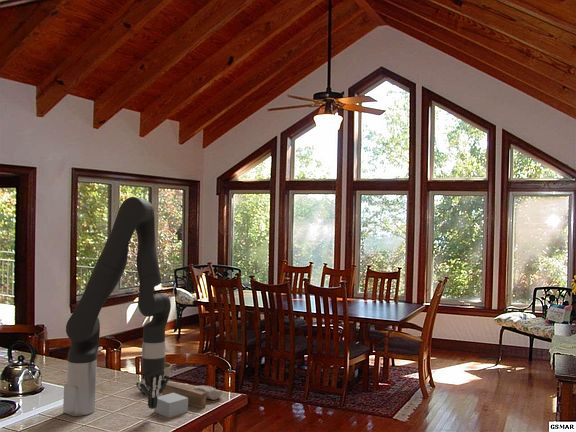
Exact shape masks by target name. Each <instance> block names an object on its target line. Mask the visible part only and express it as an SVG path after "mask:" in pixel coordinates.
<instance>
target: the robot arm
mask: <svg viewBox="0 0 576 432" xmlns="http://www.w3.org/2000/svg"><path fill="white" fill-rule="evenodd" d="M155 226H156V225H155V209H154V206H153V205H152V203H151V202H150V201H148V200H146V199H143V198H140V197H137V196H130V197H127V198H125V200H124V201H123V202H122V203H121V205H120V206H119V208H118V212H117V214H116V216H115V219H114V222H113V226H112V229H111V230H110V234H108V235H109V236H108V238H107V240H106V241H105V244H104V247H103V248H102V251H101V253H100V255H99V257H98V259H97V260H96V263H95V265H94V267H93V269H92V271H91V274H90V276H89V278H88V281H87V283H86V286H85V289H84V291H83V294H82V296H81V298H80V300H79V302H78V303H77V305H76V307H75V309H74V310H73V312H72V313H71V316H70V317H69V318H68V320H67V321H66V324H65V332H66V335H67V337H68V339H69V340H70V341H71V343H70V346H69V350H68V353H67V367H66V369H67V370H66V371H67V372H66V383H64V384H63V403H62V405H63V407H62V413H63V414H66V415H69V416H72V417H80V416H88V415H91V414H94V412H95V410H96V393H97V392H96V391H97V390H96V389H97V363H98V361H97V359H98V357H97V356H98V352H99V349H100V348H99V347H100V336H101V333H100V332H101V331H100V330H101V323H100V319H99V315H100V313H101V310H102V309H103V306H104V305H105V303H106V302H107V300H108V299H109V298H110V296H111V294H112V293H113V292H114V291H115V289H116V287H117V286H118V285H119V282H120V280H121V278H122V276H123V274H124V272H125V270H126V267H127V263H128V259H129V258H128V257H129V246H130V242H131V239H132V237H133V235H134V233H135V232H136V236H137V253H136V262H135V263H136V270H137V275H138V276H137V277H138V281H139V287H138V296H137V297H138V298H137V306H138V307H137V308H138V310H139V312H140V313H141V314H142V316H144V317H148V318H149V317H152V318H151V320H150V321H149V322H147V323H146V324H144V326H143V330H142V332H143V334H142V346H141V370H142V376H141V379H140V381H139V382H136V384H135V385H136V387H137V388H138V390H139V391H140V393H141V394H142V396H144V397H147V407H148V408H149V409H151V410H154V408H156V407H157V397H159V396H160V394H162V392H163V390H164V388H165V386H166V384H167V382H169V380H170V375H169V376H166V375H165V374H164V369H165V363H166V326H167V324H168V320H169V317H170V312H171V308H172V307H171V306H172V303H171V299H170V297H169V295H167V294H166V293H164V292H160V293H154V290H155V287H157V286H160V285H161V284H162V276H161V271H160V265H159V260H158V255H157V246H156V230H155ZM160 387H161V388H160Z"/></svg>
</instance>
